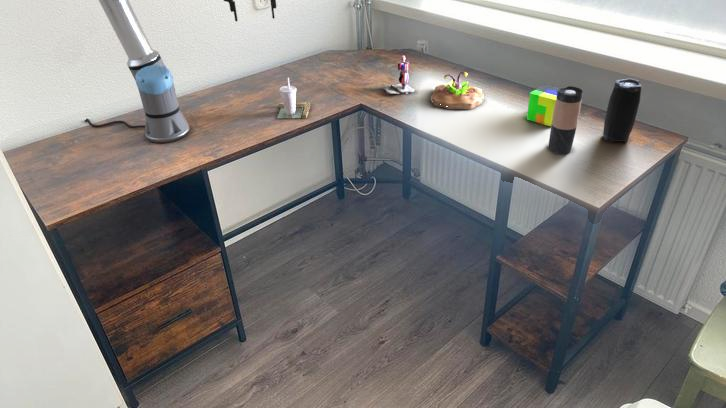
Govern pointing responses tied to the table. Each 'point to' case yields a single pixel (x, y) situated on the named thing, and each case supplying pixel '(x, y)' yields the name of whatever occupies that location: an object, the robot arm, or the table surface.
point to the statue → (401, 80)
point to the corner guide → (298, 112)
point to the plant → (457, 94)
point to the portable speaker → (622, 110)
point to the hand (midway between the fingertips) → (255, 19)
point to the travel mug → (565, 119)
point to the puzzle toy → (542, 104)
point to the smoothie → (289, 98)
